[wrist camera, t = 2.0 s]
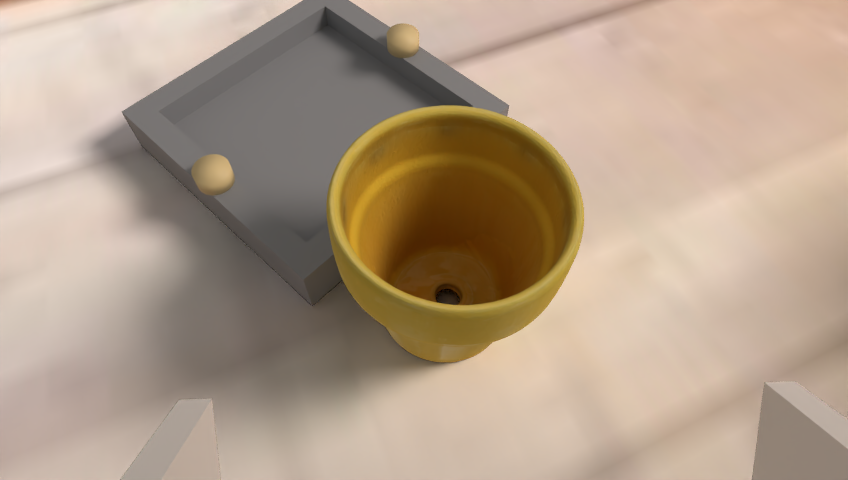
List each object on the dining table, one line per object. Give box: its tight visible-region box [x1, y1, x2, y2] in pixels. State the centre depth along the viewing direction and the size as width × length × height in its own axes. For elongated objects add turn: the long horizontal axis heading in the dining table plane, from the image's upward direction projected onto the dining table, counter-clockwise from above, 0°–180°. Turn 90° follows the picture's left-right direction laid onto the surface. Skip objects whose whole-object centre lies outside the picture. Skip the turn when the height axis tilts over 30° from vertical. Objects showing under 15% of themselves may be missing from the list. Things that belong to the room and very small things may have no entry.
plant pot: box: [326, 105, 584, 362], centre depth 28 cm, size 10×10×10 cm
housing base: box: [122, 0, 509, 306], centre depth 36 cm, size 16×16×4 cm
